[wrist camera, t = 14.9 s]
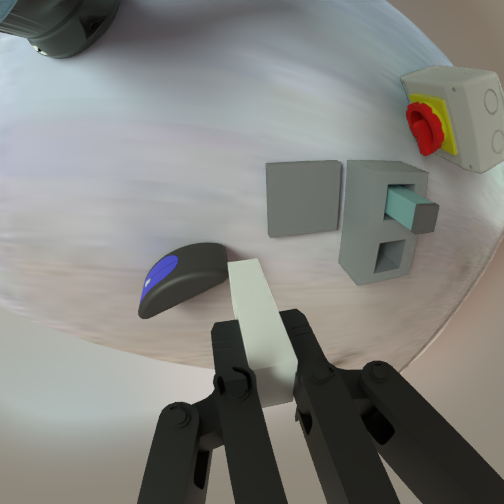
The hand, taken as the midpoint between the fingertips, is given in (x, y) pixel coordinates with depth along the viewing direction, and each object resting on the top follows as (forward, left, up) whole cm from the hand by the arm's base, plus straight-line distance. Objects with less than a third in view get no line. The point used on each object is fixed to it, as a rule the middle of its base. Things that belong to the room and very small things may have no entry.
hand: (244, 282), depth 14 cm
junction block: (+10, +28, -29) cm, 42 cm away
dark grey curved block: (+16, -7, -30) cm, 34 cm away
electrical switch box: (-10, +37, -30) cm, 49 cm away
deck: (+6, +14, -29) cm, 33 cm away
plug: (+5, +28, -28) cm, 40 cm away
